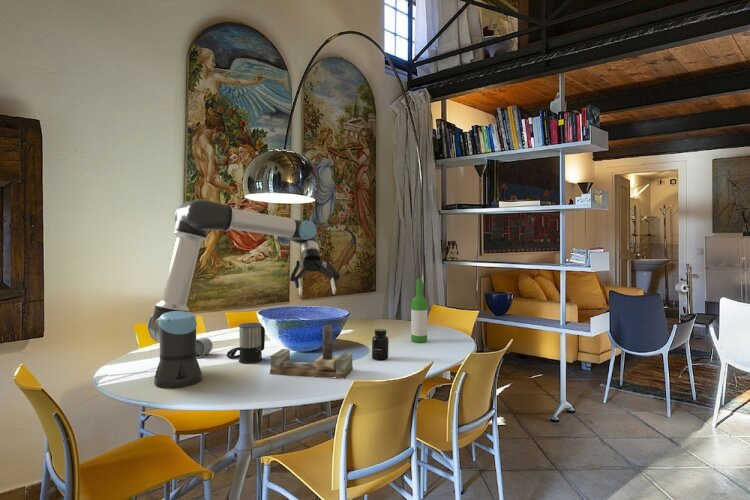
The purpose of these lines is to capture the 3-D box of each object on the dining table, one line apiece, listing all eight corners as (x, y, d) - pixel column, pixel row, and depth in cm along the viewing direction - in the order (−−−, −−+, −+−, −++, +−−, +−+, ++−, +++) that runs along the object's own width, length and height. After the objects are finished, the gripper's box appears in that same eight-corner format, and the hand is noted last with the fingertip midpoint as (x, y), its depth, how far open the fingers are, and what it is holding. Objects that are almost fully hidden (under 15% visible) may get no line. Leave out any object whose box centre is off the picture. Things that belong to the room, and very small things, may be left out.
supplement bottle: (374, 361, 188) (374, 331, 187) (370, 357, 194) (370, 328, 194) (390, 360, 190) (390, 330, 189) (385, 356, 196) (385, 327, 196)
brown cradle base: (352, 369, 176) (352, 352, 176) (344, 378, 164) (344, 360, 164) (283, 365, 182) (283, 348, 181) (270, 373, 170) (269, 356, 170)
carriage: (340, 365, 175) (340, 324, 175) (333, 371, 166) (333, 328, 166) (322, 364, 177) (322, 323, 176) (314, 370, 168) (314, 327, 167)
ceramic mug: (214, 353, 200) (213, 335, 199) (205, 358, 191) (204, 339, 191) (190, 353, 201) (190, 335, 201) (180, 358, 193) (180, 339, 192)
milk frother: (259, 364, 183) (259, 326, 183) (219, 364, 183) (218, 326, 183) (267, 355, 198) (267, 320, 197) (230, 355, 197) (229, 320, 197)
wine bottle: (419, 338, 230) (419, 278, 229) (430, 341, 224) (430, 279, 224) (407, 341, 225) (408, 279, 225) (419, 343, 219) (419, 280, 219)
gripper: (337, 259, 206) (346, 297, 192) (280, 260, 198) (285, 299, 184) (340, 247, 201) (349, 285, 187) (282, 248, 193) (287, 287, 179)
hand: (317, 292), depth 186 cm, fingers open, 13 cm apart
